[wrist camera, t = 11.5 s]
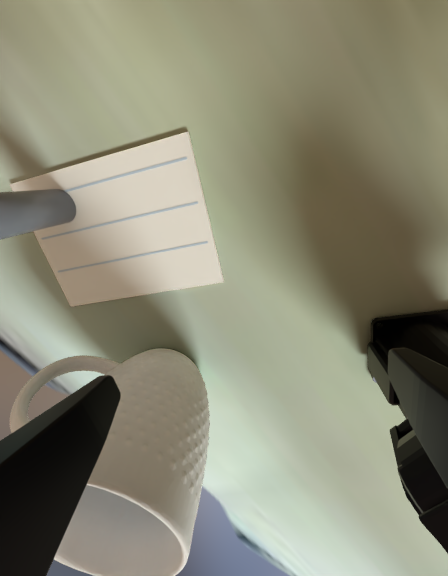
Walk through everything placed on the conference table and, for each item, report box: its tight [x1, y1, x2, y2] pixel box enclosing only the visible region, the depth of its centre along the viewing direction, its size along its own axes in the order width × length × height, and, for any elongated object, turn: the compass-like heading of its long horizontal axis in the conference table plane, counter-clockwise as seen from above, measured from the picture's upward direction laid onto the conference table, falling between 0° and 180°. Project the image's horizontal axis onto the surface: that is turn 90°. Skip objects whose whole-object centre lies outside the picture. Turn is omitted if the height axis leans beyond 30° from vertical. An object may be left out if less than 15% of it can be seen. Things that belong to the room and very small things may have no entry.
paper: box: [9, 132, 224, 307], centre depth 20 cm, size 15×11×1 cm
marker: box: [0, 189, 76, 239], centre depth 15 cm, size 3×3×10 cm
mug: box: [10, 348, 210, 576], centre depth 20 cm, size 15×11×13 cm
